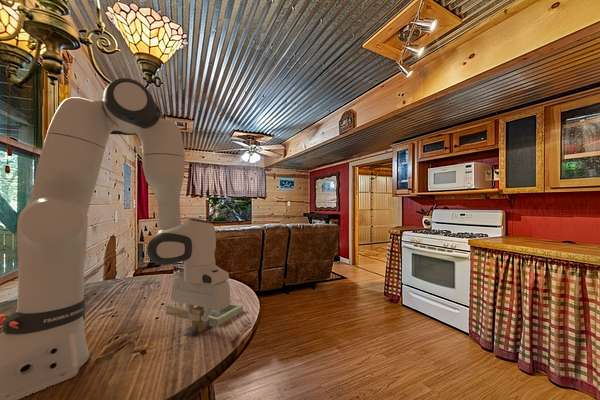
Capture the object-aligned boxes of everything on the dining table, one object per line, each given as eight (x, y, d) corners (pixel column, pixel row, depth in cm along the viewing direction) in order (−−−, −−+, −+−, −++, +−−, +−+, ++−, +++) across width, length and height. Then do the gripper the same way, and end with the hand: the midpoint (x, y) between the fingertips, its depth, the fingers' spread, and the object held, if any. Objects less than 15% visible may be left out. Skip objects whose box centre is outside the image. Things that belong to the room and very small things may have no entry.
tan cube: (209, 323, 82) (209, 310, 82) (201, 320, 84) (201, 307, 85) (219, 319, 85) (219, 306, 86) (211, 316, 88) (212, 304, 88)
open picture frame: (217, 327, 79) (218, 319, 79) (190, 320, 84) (191, 313, 84) (242, 312, 91) (243, 305, 91) (218, 307, 95) (218, 300, 95)
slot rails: (191, 320, 84) (191, 311, 84) (165, 314, 89) (165, 305, 89) (217, 307, 95) (217, 299, 95) (193, 302, 100) (193, 294, 100)
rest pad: (193, 339, 72) (193, 337, 72) (182, 336, 73) (182, 334, 73) (213, 327, 79) (213, 326, 79) (203, 324, 81) (203, 323, 81)
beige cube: (224, 316, 88) (224, 304, 88) (213, 315, 89) (214, 303, 89) (230, 311, 91) (230, 300, 92) (220, 310, 92) (220, 299, 93)
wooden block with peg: (193, 336, 73) (193, 312, 73) (186, 334, 74) (186, 311, 74) (211, 326, 79) (211, 304, 79) (204, 324, 80) (204, 303, 80)
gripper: (166, 271, 78) (164, 317, 78) (218, 279, 70) (217, 330, 69) (183, 267, 84) (182, 310, 83) (233, 274, 76) (232, 321, 75)
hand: (198, 319), depth 76 cm, fingers open, 3 cm apart
